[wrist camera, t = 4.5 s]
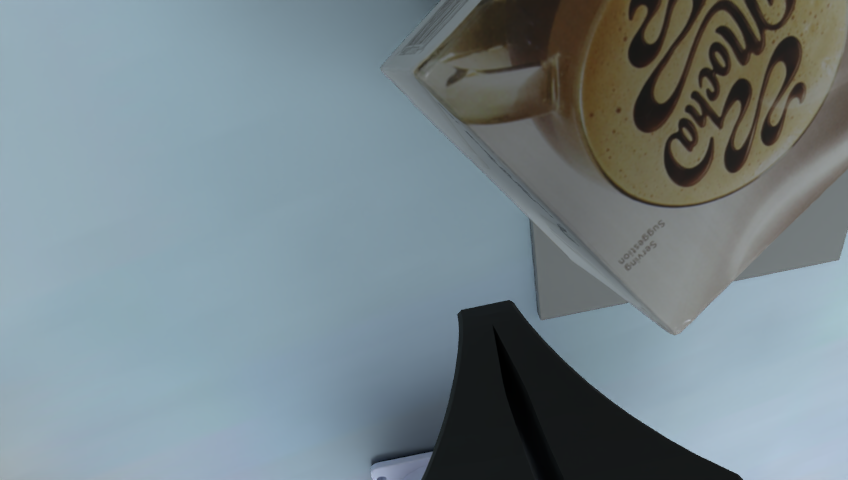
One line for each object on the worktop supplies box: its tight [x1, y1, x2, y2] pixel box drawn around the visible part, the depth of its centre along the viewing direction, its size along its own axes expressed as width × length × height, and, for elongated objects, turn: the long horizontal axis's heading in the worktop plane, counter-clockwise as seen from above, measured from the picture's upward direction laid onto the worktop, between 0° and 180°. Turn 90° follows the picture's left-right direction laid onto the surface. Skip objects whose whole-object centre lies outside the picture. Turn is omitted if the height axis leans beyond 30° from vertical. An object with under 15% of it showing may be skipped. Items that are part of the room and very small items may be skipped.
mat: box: [530, 169, 848, 320], centre depth 22 cm, size 16×14×1 cm
